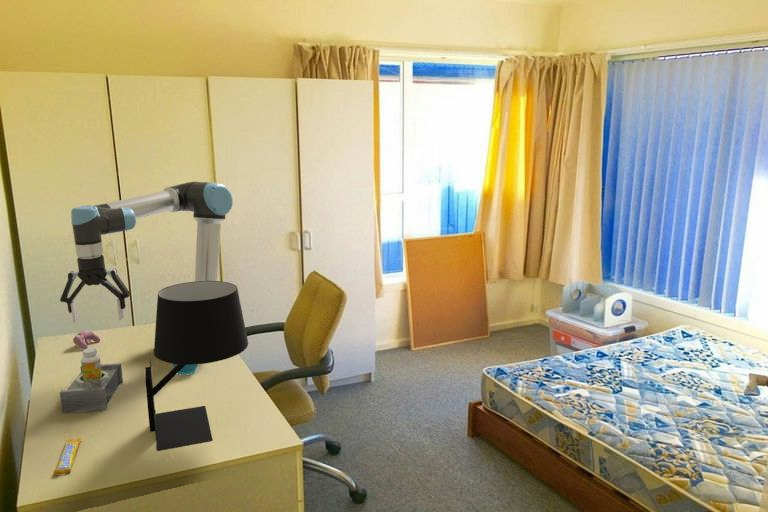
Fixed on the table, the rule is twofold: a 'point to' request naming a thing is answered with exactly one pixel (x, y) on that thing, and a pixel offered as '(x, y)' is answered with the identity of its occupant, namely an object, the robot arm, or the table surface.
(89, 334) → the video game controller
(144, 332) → the table surface
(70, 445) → the candy bar
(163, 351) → the table lamp
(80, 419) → the table surface
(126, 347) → the table surface
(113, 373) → the grey block with hole
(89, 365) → the supplement bottle
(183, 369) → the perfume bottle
